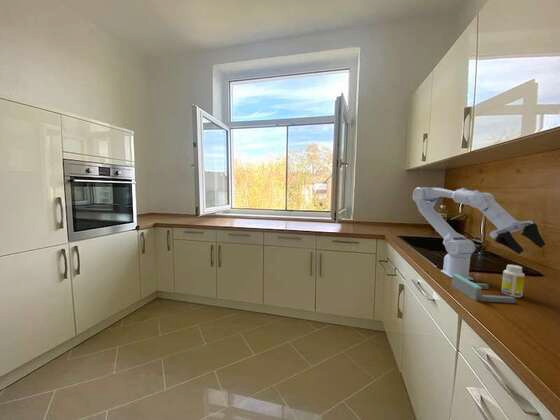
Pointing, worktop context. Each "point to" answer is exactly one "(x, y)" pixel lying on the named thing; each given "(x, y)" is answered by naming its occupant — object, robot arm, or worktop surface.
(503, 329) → the worktop surface
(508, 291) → the supplement bottle
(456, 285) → the bay
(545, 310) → the worktop surface
